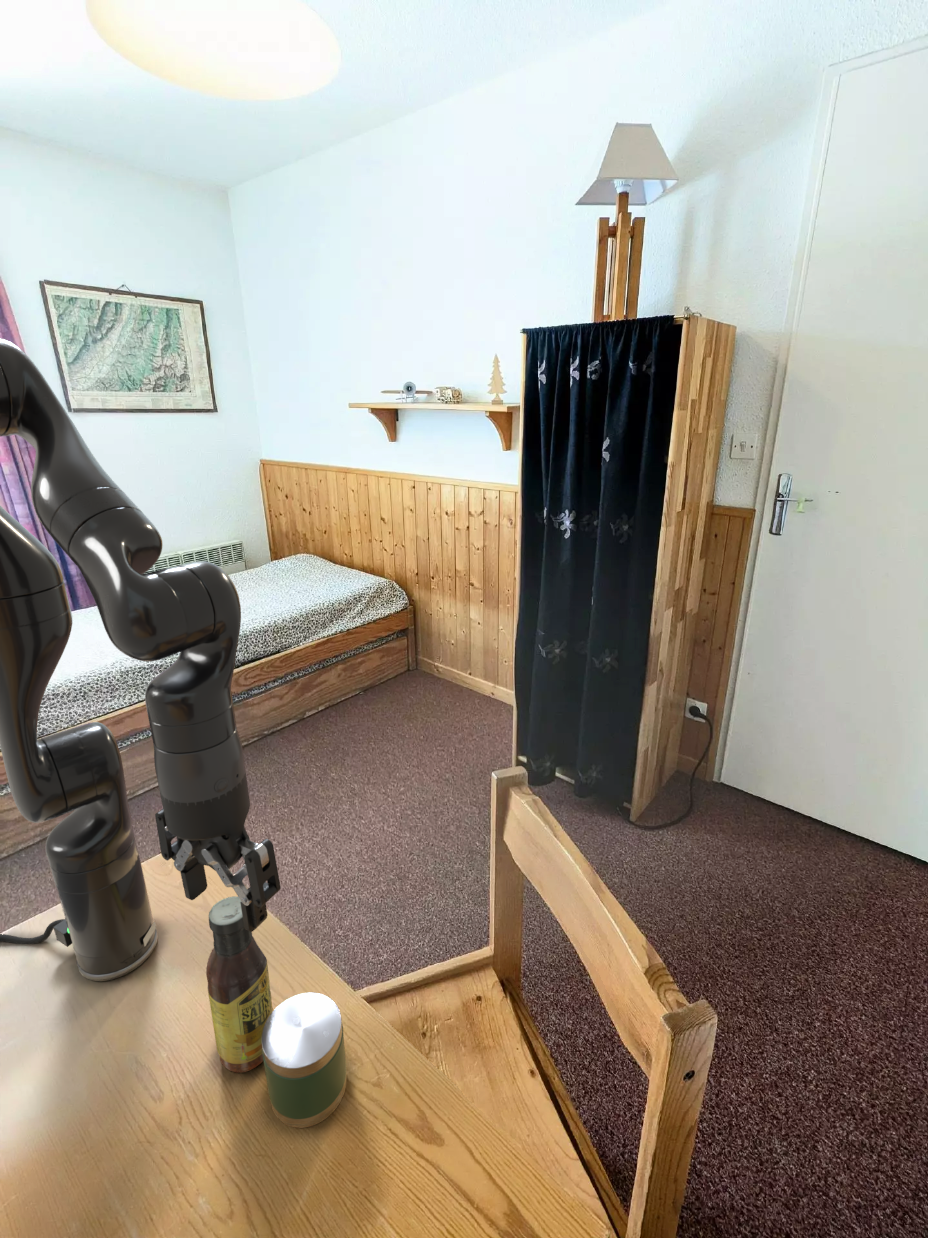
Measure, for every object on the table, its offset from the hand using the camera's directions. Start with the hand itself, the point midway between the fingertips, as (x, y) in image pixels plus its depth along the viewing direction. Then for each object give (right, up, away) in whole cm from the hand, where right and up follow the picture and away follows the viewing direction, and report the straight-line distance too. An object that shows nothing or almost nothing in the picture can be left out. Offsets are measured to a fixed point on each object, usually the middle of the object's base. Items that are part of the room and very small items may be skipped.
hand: (225, 909), depth 62 cm
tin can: (+8, -21, +3) cm, 22 cm away
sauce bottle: (0, -19, +7) cm, 21 cm away
